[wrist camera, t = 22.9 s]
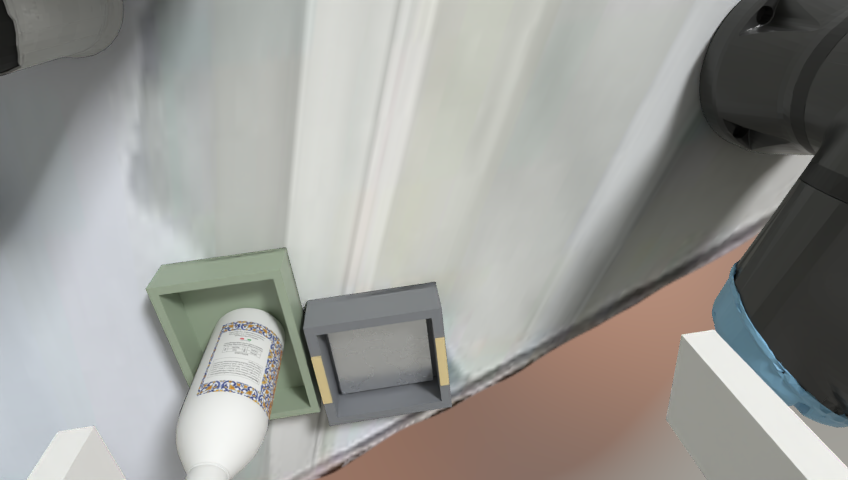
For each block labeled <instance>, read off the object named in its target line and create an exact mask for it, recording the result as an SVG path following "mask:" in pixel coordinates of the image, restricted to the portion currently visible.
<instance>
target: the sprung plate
mask: <svg viewBox="0 0 848 480" xmlns="http://www.w3.org/2000/svg"><path fill="white" fill-rule="evenodd" d="M328 338H329V342H330V346H331V351H332V355H333V359H334V363H335V367H336V371H337V375H338V379H339V383H340V387H341V391H342V394H347V393H354V392H360V391H367V390H373V389H379V388H386V387H392V386H399V385H405V384H412V383H418V382H424V381H431V380H433V373H432V365H431V357H430V349H429V341H428V333H427V325H426V319H423V320H416V321H409V322H403V323H396V324H389V325H383V326H376V327H369V328H363V329H356V330H349V331H342V332H336V333H329V334H328Z"/></svg>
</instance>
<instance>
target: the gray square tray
mask: <svg viewBox="0 0 848 480" xmlns="http://www.w3.org/2000/svg"><path fill="white" fill-rule="evenodd" d="M423 319H426V325H427V333H428V341H429V349H430V357H431V365H432V373H433V380H431V381H424V382H418V383H412V384H405V385H399V386H392V387H386V388H379V389H373V390H367V391H360V392H354V393H347V394H342V391H341V387H340V383H339V379H338V375H337V371H336V367H335V363H334V359H333V355H332V351H331V346H330V342H329V338H328V334H329V333H336V332H342V331H349V330H356V329H363V328H369V327H376V326H383V325H389V324H396V323H403V322H409V321H416V320H423ZM303 330H304V334H305V337H306V341H307V345H308V348H309V352H310V356H311V360H312V364H313V368H314V371H315V375H316V379H317V382H318V386H319V390H320V393H321V397H322V401H323V404H324V407H325V410H326V414H327V418H328V421H329V425H330V426H333V425H339V424H345V423H352V422H358V421H364V420H371V419H377V418H383V417H390V416H396V415H402V414H408V413H415V412H421V411H427V410H434V409H440V408H446V407H452V403H451V394H450V384H449V374H448V365H447V355H446V346H445V336H444V326H443V317H442V308H441V303H440V299H439V295H438V291H437V287H436V282H432V283H425V284H418V285H411V286H404V287H397V288H391V289H384V290H377V291H370V292H363V293H356V294H350V295H343V296H336V297H329V298H322V299H315V300H309V301H307V307H306V314H305V320H304V326H303Z"/></svg>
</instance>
